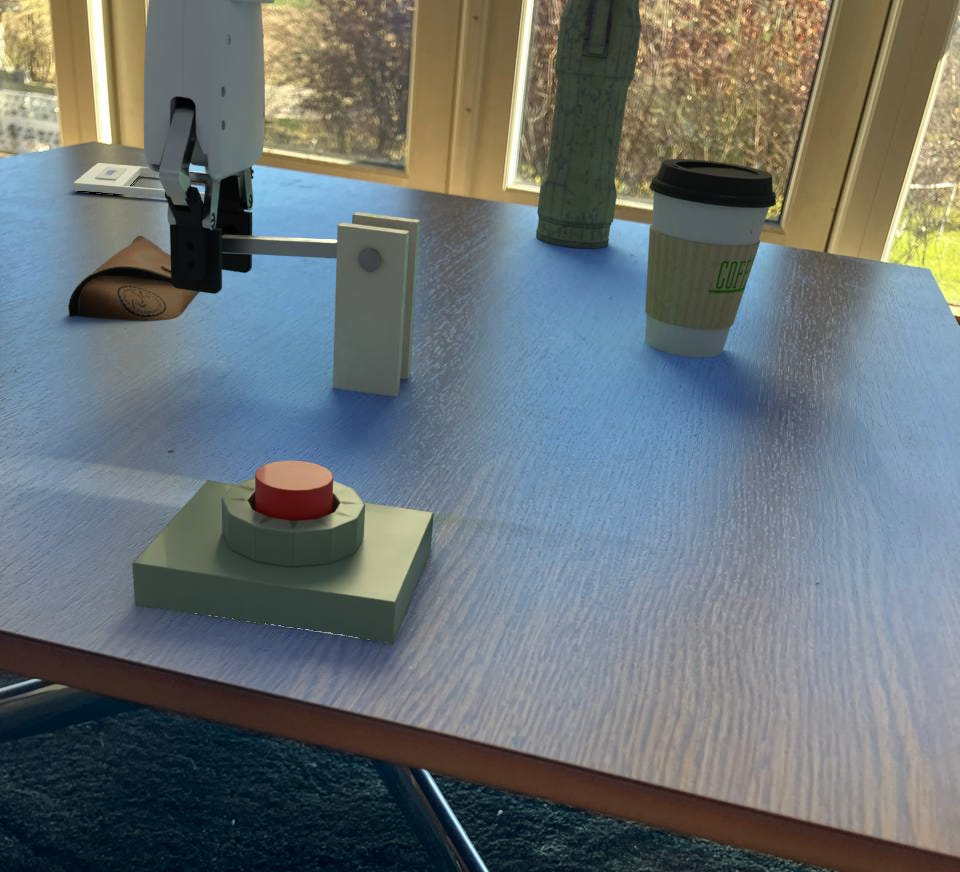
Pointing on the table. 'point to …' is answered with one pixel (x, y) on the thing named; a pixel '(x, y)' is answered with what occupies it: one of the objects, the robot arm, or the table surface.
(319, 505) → the button
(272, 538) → the control block
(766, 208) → the coffee cup
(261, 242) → the lever
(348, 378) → the bracket
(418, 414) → the table surface
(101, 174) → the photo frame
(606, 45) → the thermos
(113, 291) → the sunglasses case
